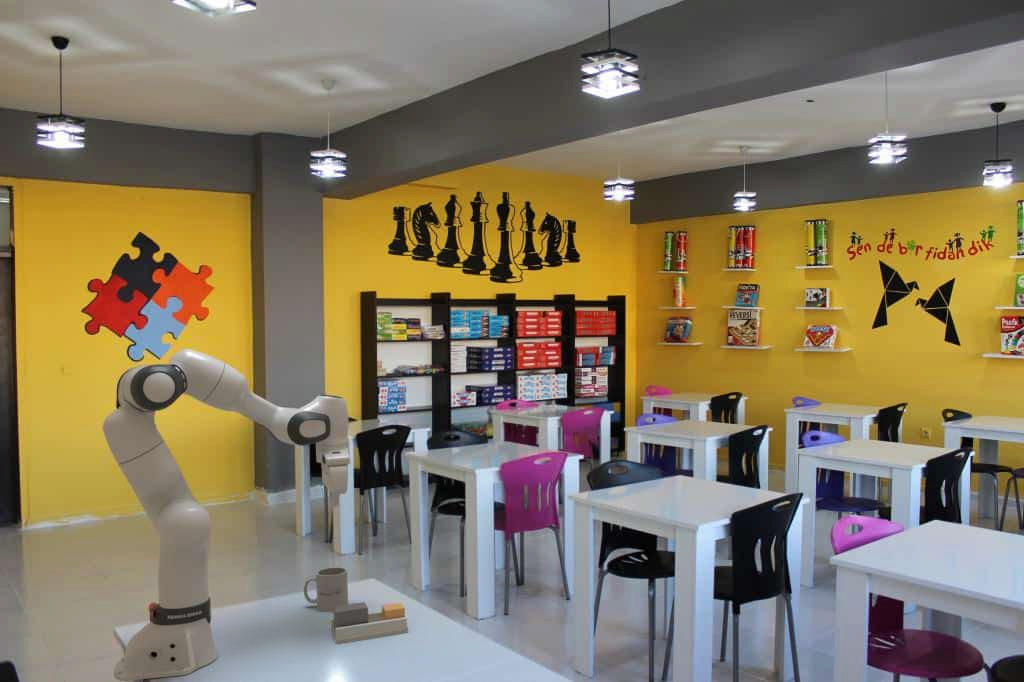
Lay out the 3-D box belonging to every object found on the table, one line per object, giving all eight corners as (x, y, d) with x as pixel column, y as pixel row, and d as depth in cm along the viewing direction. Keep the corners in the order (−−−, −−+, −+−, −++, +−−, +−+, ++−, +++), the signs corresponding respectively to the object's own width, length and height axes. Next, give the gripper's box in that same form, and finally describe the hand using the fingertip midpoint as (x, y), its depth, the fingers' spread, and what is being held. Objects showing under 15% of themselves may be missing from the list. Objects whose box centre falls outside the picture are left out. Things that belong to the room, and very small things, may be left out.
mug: (353, 602, 234) (352, 567, 234) (340, 612, 226) (338, 576, 226) (314, 600, 237) (313, 566, 237) (299, 610, 229) (298, 574, 229)
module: (337, 636, 205) (336, 612, 205) (334, 629, 209) (333, 606, 209) (368, 631, 207) (367, 607, 207) (364, 624, 212) (364, 602, 212)
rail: (336, 643, 202) (336, 621, 202) (330, 630, 211) (330, 609, 211) (407, 632, 208) (407, 611, 208) (398, 620, 218) (398, 599, 218)
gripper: (315, 450, 227) (317, 500, 227) (326, 460, 208) (328, 513, 208) (338, 449, 230) (340, 497, 230) (351, 458, 211) (353, 511, 211)
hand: (334, 505), depth 219 cm, fingers closed
